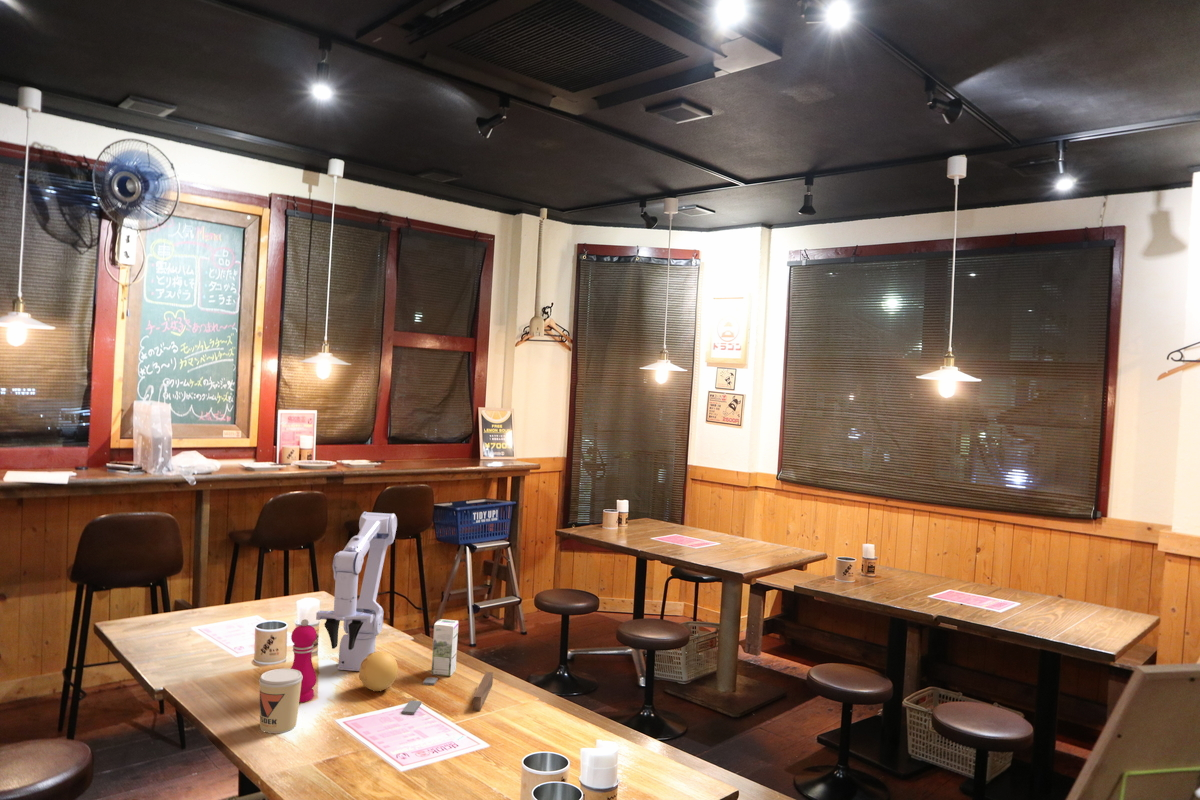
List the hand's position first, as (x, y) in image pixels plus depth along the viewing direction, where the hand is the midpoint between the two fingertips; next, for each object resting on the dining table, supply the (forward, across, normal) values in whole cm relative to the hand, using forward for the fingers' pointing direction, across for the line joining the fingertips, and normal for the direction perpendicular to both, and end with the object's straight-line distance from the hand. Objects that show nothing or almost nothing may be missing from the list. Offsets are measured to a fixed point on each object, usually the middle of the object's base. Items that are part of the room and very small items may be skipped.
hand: (342, 648), depth 207 cm
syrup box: (+11, +24, +16) cm, 31 cm away
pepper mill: (+11, -7, -9) cm, 16 cm away
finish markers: (+10, +22, -2) cm, 24 cm away
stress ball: (+11, +10, 0) cm, 15 cm away
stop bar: (+10, +38, 0) cm, 39 cm away
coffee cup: (+11, -5, -26) cm, 29 cm away
